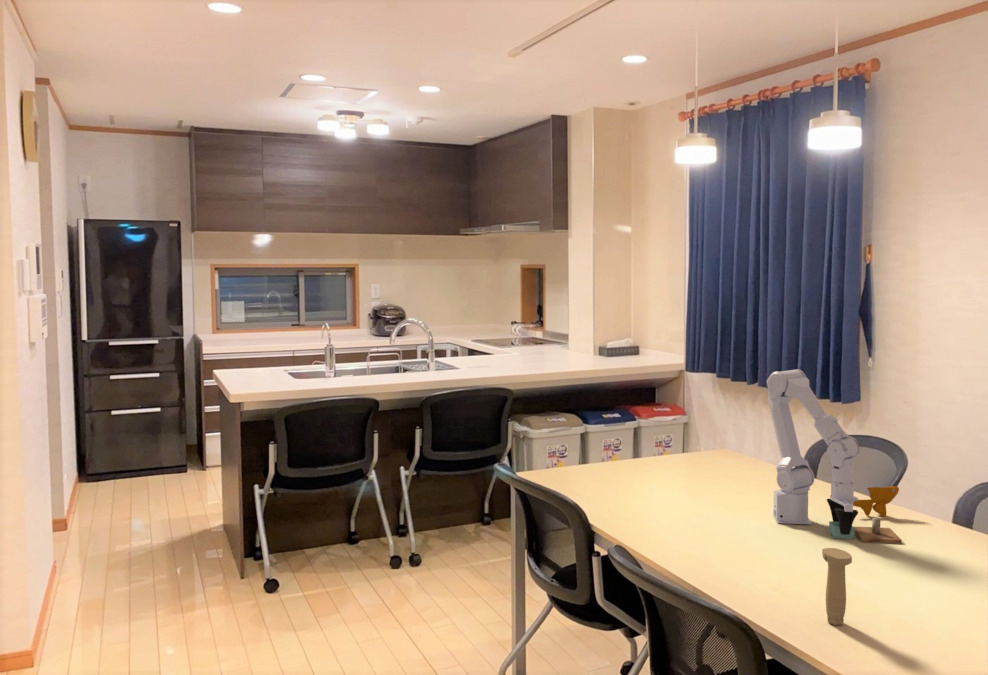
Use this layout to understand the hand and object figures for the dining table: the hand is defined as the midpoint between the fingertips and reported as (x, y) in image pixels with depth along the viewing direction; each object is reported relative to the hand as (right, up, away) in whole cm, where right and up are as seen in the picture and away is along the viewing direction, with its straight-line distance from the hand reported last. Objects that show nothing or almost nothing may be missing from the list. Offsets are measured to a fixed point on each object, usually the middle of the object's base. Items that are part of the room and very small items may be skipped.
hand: (841, 529), depth 221 cm
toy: (+16, 0, +17) cm, 23 cm away
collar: (0, -2, 0) cm, 2 cm away
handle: (-24, -7, -53) cm, 59 cm away
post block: (+9, -2, -1) cm, 9 cm away
